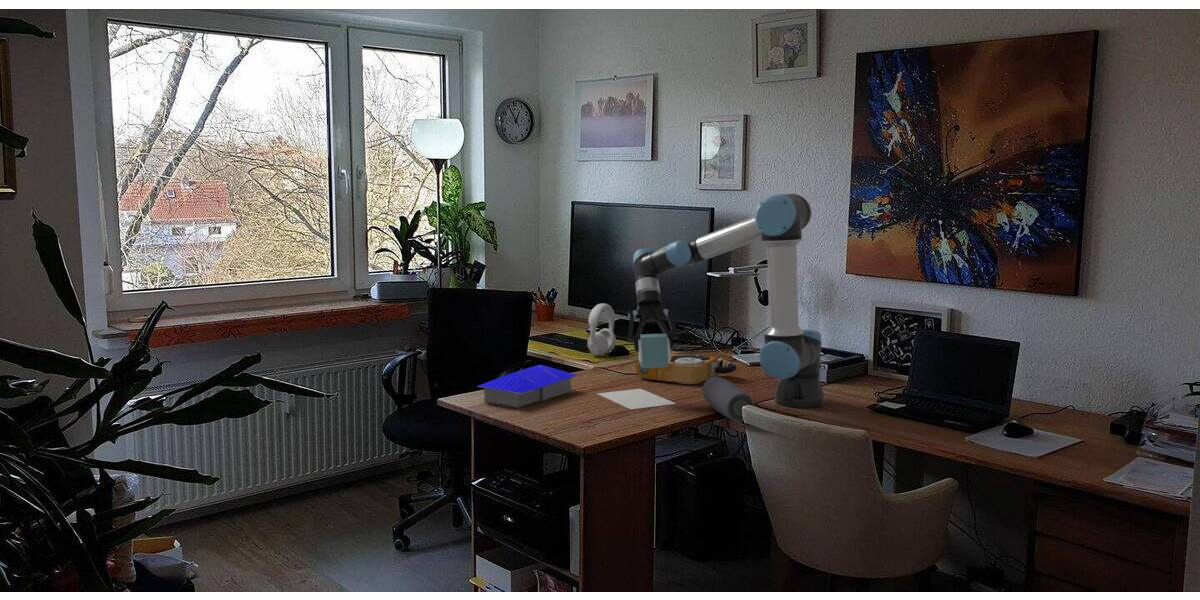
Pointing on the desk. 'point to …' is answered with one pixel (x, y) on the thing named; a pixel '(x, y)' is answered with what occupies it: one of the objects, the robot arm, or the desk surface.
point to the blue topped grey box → (527, 386)
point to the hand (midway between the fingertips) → (655, 359)
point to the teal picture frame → (654, 350)
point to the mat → (636, 398)
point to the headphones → (601, 331)
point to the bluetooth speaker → (726, 398)
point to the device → (687, 369)
